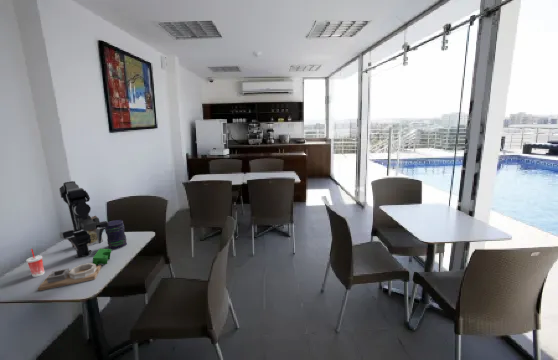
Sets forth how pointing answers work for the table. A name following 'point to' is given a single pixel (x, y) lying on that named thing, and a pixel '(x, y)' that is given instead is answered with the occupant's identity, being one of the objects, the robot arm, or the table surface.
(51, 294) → the table surface
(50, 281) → the socket board
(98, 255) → the clamp
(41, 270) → the beverage cup
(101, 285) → the table surface
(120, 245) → the storage jar
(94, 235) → the coffee box
